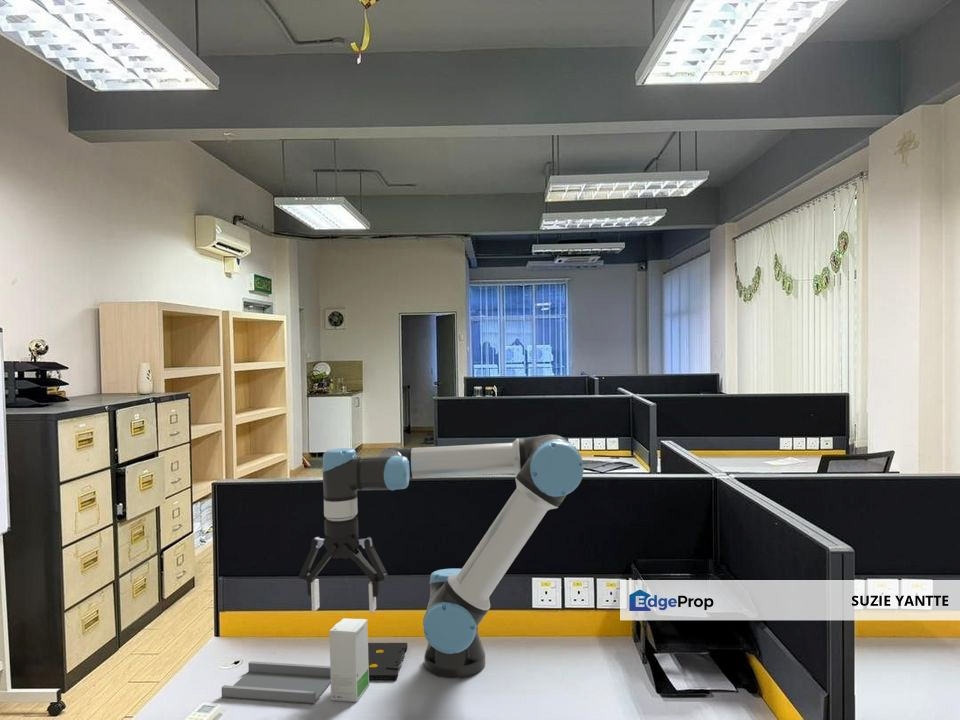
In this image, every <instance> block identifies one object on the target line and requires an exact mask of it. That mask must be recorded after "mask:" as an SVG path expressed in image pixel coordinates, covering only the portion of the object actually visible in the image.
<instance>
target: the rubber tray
mask: <svg viewBox="0 0 960 720" xmlns="http://www.w3.org/2000/svg"><path fill="white" fill-rule="evenodd" d="M247 663H248V665H247V666H248V671H247V672H246V673H245V674H244V675H243V676H241V678H240V679H239V680H237V681H236V682H235V683H234V684H233V685H229V684H227V685H226V684H223V685H222V686H221V699H232V700H233V699H234V700H245V701H246V700H247V701H257V702H259V701H260V702H261V701H262V702H272V703H273V702H275V703H288V704H300V705H301V704H303V705H313V706H314V705H315V704H316V703H317V701H318V700H319V699H320V698H321V696H322V695H323V694H324V692H326V690H327V689H328V688H329V686H331V672H330V665H316V664H302V663H287V662H286V663H285V662H273V661H272V662H270V661H254V660H252V661H251V660H250V661H249V662H247Z"/></svg>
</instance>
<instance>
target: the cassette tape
mask: <svg viewBox="0 0 960 720" xmlns="http://www.w3.org/2000/svg"><path fill="white" fill-rule="evenodd" d="M407 651H408V642H368V663H369V682H396V681H398V677H399V668H400V666H401V665H402V661H404V659H405V657H406V652H407Z"/></svg>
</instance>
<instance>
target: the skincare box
mask: <svg viewBox="0 0 960 720" xmlns="http://www.w3.org/2000/svg"><path fill="white" fill-rule="evenodd" d="M368 631H369V630H368V618H367V619H366V618H341V620H340V621H339V622H337V623H335V624H334V626H333V627H332V628H331V629H329V658H330V659H329V664H330V665H329V666H330V672H331V684H330V701H335V702H346V703H348V702H349V703H350V702H351V703H357V702H358V701H359V699H360V698H361V697H362V696H363V694H364V693H365V692H366V690H367V689H368V688H369V686H370V681H369V663H368V643H369V635H368V634H369V633H368Z"/></svg>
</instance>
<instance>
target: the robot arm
mask: <svg viewBox="0 0 960 720" xmlns="http://www.w3.org/2000/svg"><path fill="white" fill-rule="evenodd" d="M356 453H357V451H356V449H354V448H349V447H348V448H347V447H340V448H338V447H337V448H332V449H327V450H326V451H324V453H323V454H322V470H321V472H322V483H323V484H322V485H323V516H324V518H325V519H324V521H323V522H324V538H321V537H320V536H316V537H314V538H313V539H312V540H311V543H310V550H309V552H308V554H307V556H306V559H305V561H304V563H303V566H302V568H301V570H300V573H299V575H298V578H299V579H300V580H304V581H306V583H307V595H308V596H311V612H316V611H317V610H318V609H319V608H320V581H319V578H317V576H318V575H319V574H320V572H321V571H322V570H323V568H324V567H325V566H326V564H327V563H328V562H329V560H331V558H334V560H337V559H343V560H348V559H351V560H352V561H353V562H355V564H356V565H357V566H358V567H359V568H360V569H361V571H362V572H363V573H364V574H365V576H366V577H367V578H368V579H369V580H370V582H369V583H368V605H369V606H368V607H369V613H370V614H373V613H374V612H375V610H377V597H379V595H380V593H381V588H380V587H381V586H380V583H381V581H384V580H385V579H386V578H387V577H388V572H387V571H386V568H385V566H384V564H383V562H382V560H381V558H380V556H379V555H378V552H377V551H376V548H375V546H374V543H373V542H374V541H373V538H372V536H368V537H367V538H360V536H359V517H358V516H357V515H358V512H359V509H358V491H388V490H389V491H395V490H405V489H407V488H408V487H409V483H410V479H411V480H413V479H424V478H425V479H427V478H429V479H430V478H431V479H433V478H447V477H450V478H451V477H469V476H470V477H471V476H490V475H491V476H492V475H508V474H509V475H510V474H511V475H516V477H514V478H515V484H516V485H515V486H516V489H515V490H514V491H513V493H512V494H511V496H510V497H509V498H508V500H507V501H506V503H505V504H504V506H503V507H502V509H501V510H500V512H499V513H498V515H497V516H496V518H495V519H494V520H493V522H492V523H491V525H490V526H489V528H488V530H487V531H486V532H485V534H484V535H483V537H482V539H481V540H480V541H479V543H478V545H476V547H475V549H474V550H473V552H472V553H471V555H470V556H469V558H468V559H467V561H466V562H465V564H464V565H463V566H462V568H444V569H443V568H442V569H437V570H435V571H433V572H431V574H430V579H429V580H430V581H429V585H430V586H429V587H430V589H429V590H430V592H429V593H430V594H429V599H428V600H429V601H428V603H427V607H426V611H425V614H424V616H423V620H422V626H423V628H422V630H423V634H424V638H425V639H426V642H427V646H426V649H425V651H424V658H423V659H424V661H423V662H424V663H423V664H424V668H425V670H426V671H427V672H429V673H430V674H431V675H435V676H436V677H439V678H440V677H442V678H449V679H454V678H456V679H457V678H465V677H469V676H473V675H475V674H476V673H480V672H481V671H482V670H483V669H484V668H485V666H486V652H485V649H484V646H483V643H482V640H481V637H480V634H479V625H480V624H481V622H482V621H483V619H484V618H485V617H486V615H487V613H489V610H490V608H491V602H490V596H491V595H492V593H493V592H494V590H496V587H497V586H498V585H499V583H500V581H501V580H502V578H504V575H505V574H506V573H507V571H508V570H509V568H510V567H511V565H512V564H513V562H514V561H515V559H516V558H517V557H518V555H519V554H520V552H521V550H522V549H523V547H524V546H525V545H526V543H527V542H528V541H529V539H530V537H531V536H532V535H533V533H534V531H535V530H536V529H537V527H538V525H539V524H540V523H541V521H542V520H543V518H544V516H545V515H546V513H547V512H548V511H550V510H554V509H558V508H559V506H561V504H562V503H563V501H564V499H566V497H567V495H569V494H571V493H572V492H574V491H575V490H576V489H577V488H578V487H579V485H580V484H581V482H582V480H583V476H584V461H583V458H582V456H581V454H580V451H579V450H578V449H577V448H576V447H575V445H573V444H572V443H571V442H570V441H569V440H568V439H566V438H565V437H563V436H561V435H558V434H545V435H544V434H543V435H538V436H529V437H518V438H515V439H514V441H513V442H502V443H501V442H500V443H483V444H482V443H481V444H465V445H448V446H447V445H446V446H443V445H442V446H441V445H440V446H426V447H425V446H423V447H412V448H411V447H406V448H401V447H397V446H393V447H392V446H391V447H388V448H386V449H384V450H382V451H381V453H380V454H379V455H378V456H367V457H361V456H358V455H357V454H356ZM322 546H324V548H325V549H326V552H325V554H324V555H323V557H321V560H319V562H318V563H317V564H316V566H315V567H314V568H313V569H312V566H313V564H314V561H315V559H316V557H317V554H318V553H319V551H320V550H319V549H320V548H322ZM360 546H361V547H362V549H364V550H365V553H366V554H367V557H368V559H369V561H370V562H369V561H368V559H366V558H365V557H364V556H363V554H362V552H361V550H360V549H359V547H360ZM370 563H371V564H370ZM311 569H312V571H311ZM310 571H311V572H310Z"/></svg>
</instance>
